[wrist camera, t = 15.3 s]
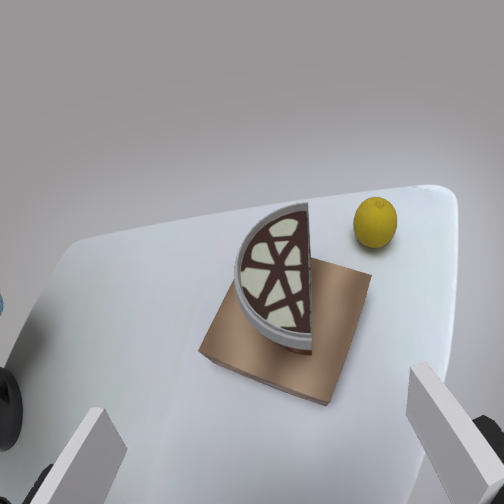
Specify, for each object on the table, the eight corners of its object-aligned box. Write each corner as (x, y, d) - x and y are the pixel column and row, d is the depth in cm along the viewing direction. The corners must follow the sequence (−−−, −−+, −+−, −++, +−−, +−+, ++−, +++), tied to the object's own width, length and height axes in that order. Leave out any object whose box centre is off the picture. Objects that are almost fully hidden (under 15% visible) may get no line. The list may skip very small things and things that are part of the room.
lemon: (374, 218, 43) (382, 178, 36) (398, 246, 40) (412, 209, 33) (342, 235, 42) (346, 196, 36) (366, 266, 39) (376, 229, 33)
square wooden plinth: (213, 363, 37) (198, 350, 32) (260, 266, 43) (253, 240, 38) (325, 406, 32) (329, 402, 27) (363, 297, 38) (371, 275, 33)
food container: (255, 259, 36) (236, 201, 28) (310, 257, 35) (307, 197, 27) (247, 369, 30) (220, 341, 21) (312, 370, 29) (311, 342, 20)
